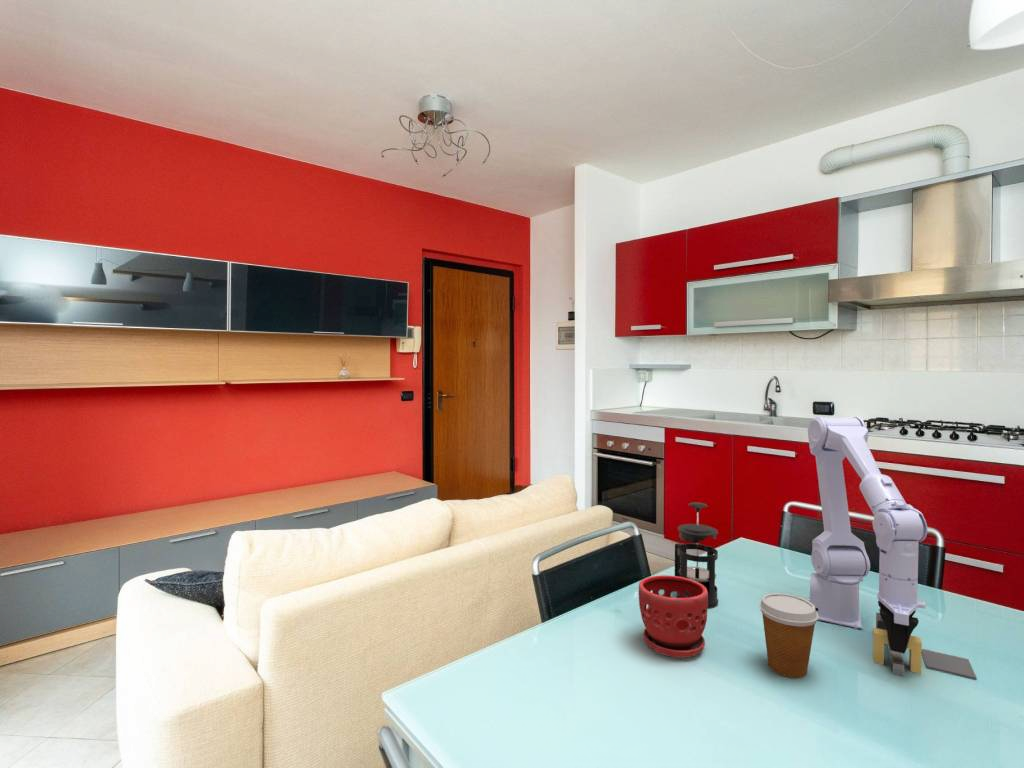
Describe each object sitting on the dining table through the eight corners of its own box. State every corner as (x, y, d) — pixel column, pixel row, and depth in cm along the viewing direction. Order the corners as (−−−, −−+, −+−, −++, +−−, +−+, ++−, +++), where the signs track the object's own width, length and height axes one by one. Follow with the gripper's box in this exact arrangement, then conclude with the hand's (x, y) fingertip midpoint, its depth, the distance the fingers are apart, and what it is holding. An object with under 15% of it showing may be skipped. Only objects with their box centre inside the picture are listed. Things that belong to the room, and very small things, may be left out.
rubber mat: (926, 668, 96) (926, 665, 96) (921, 650, 102) (921, 648, 102) (976, 679, 92) (976, 677, 92) (968, 661, 98) (968, 659, 98)
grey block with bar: (881, 670, 95) (881, 644, 95) (875, 631, 109) (876, 608, 109) (916, 679, 92) (916, 652, 92) (905, 637, 107) (906, 614, 106)
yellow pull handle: (873, 662, 98) (874, 633, 97) (873, 656, 100) (873, 627, 100) (921, 673, 94) (921, 643, 94) (919, 667, 96) (919, 637, 96)
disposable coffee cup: (795, 689, 89) (796, 619, 89) (747, 661, 98) (748, 598, 97) (829, 674, 94) (830, 608, 93) (780, 649, 102) (781, 588, 102)
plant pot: (718, 644, 104) (719, 584, 104) (689, 672, 94) (690, 606, 94) (657, 622, 113) (658, 567, 113) (625, 646, 103) (626, 585, 103)
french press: (729, 604, 122) (730, 506, 121) (700, 613, 117) (701, 511, 117) (690, 586, 132) (691, 495, 131) (662, 593, 128) (663, 499, 127)
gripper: (931, 593, 88) (930, 673, 88) (920, 566, 100) (918, 636, 101) (880, 584, 92) (879, 660, 92) (875, 559, 104) (874, 626, 105)
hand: (896, 647), depth 97 cm, fingers closed on yellow pull handle, 2 cm apart
